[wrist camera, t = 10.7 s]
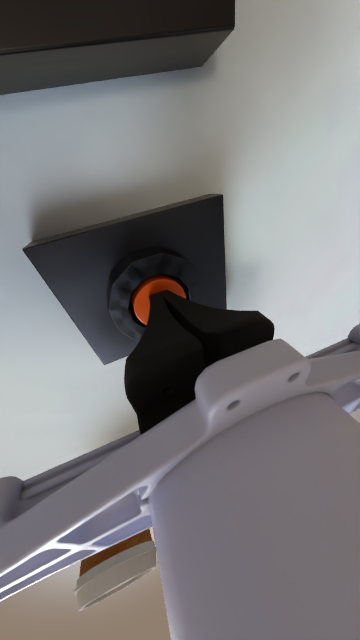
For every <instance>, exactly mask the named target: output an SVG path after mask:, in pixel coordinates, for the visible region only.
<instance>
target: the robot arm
mask: <svg viewBox="0 0 360 640" xmlns="http://www.w3.org/2000/svg"><path fill="white" fill-rule="evenodd" d="M149 301H150V311H149V317H148V321H147V325H146V328H145V330H144V333H143V335H142V337H141V339H140V341H139V342H138V344H137V346H136V347H135V349H134V350H133V351H132V353H131V354H130V355H129V356H128V357H127V359H126V365H125V375H124V383H125V391H126V395H127V399H128V400H129V402H130V404H131V405H132V407H133V409H134V410H135V412H136V414H137V418H138V424H139V430H138V431H136V432H134V433H132V434H129V435H127V436H125V437H123V438H120V439H118V440H116V441H113V442H111V443H109V444H107V445H104V446H102V447H100V448H98V449H95V450H93V451H91V452H89V453H86V454H84V455H82V456H79V457H77V458H75V459H73V460H70V461H68V462H66V463H64V464H61V465H59V466H57V467H55V468H52V469H50V470H48V471H45V472H43V473H41V474H39V475H36V476H34V477H32V478H30V479H27V480H25V481H22V480H21V479H19V478H17V477H13V476H9V477H3V478H0V601H2V600H4V599H5V598H7V597H9V596H11V595H13V594H15V593H17V592H19V591H21V590H22V589H24V588H26V587H28V586H30V585H32V584H34V583H36V582H38V581H40V580H42V579H44V578H46V577H48V576H50V575H52V574H54V573H56V572H58V571H60V570H62V569H64V568H66V567H68V566H70V565H73V564H74V563H77V562H79V561H81V560H83V559H85V558H87V557H89V556H91V555H94V554H96V553H98V552H100V551H102V550H104V549H106V548H108V547H110V546H113V545H115V544H117V543H119V542H121V541H123V540H125V539H127V538H129V537H132V536H134V535H136V534H138V533H140V532H142V531H144V530H146V529H148V528H150V527H153V531H154V532H153V533H154V539H155V545H156V551H157V557H158V563H159V569H160V575H161V581H162V587H163V593H164V600H165V606H166V612H167V618H168V624H169V630H170V636H171V640H360V423H359V422H358V421H356V420H355V419H354V418H353V417H352V416H351V415H350V414H351V413H353V412H355V411H356V410H358V409H359V408H360V324H359V325H357V326H355V327H354V328H353V329H352V330H351V331H350V333H349V335H348V338H347V339H345V340H342V341H340V342H338V343H336V344H333V345H331V346H329V347H327V348H324V349H322V350H320V351H318V352H315V353H313V354H311V355H308V356H306V357H304V356H303V355H302V354H300V353H299V352H298V351H297V350H295V349H294V348H293V347H292V346H291V345H289V344H288V343H287V342H285V341H284V340H282V339H276V340H273V336H274V325H273V323H272V322H271V321H270V320H269V319H268V318H266V317H265V316H264V315H263V314H261V313H260V312H258V311H236V310H225V309H219V308H213V307H209V306H205V305H201V304H198V303H195V302H193V301H190V300H188V299H185V298H183V297H181V296H179V295H177V294H175V293H173V292H171V291H169V290H164V291H161V292H158V293H155V294H151V295H149Z"/></svg>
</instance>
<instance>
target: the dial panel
mask: <svg viewBox="0 0 360 640" xmlns="http://www.w3.org/2000/svg"><path fill="white" fill-rule="evenodd" d="M234 27H235V0H0V95H3V94H10V93H17V92H24V91H31V90H38V89H45V88H53V87H60V86H67V85H74V84H81V83H88V82H95V81H102V80H109V79H116V78H123V77H130V76H137V75H145V74H152V73H159V72H166V71H173V70H180V69H187V68H194V67H201V66H203V65H204V63H205V62H206V61H207V60H208V59H209V58H210V56H211V55H212V54H213V53H214V52H215V51H216V49H217V48H218V47H219V46H220V45H221V44H222V42H223V41H224V40H225V39H226V38H227V37H228V35H229V34H230V33H231V32H232V31H233V30H234Z"/></svg>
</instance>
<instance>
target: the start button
mask: <svg viewBox="0 0 360 640" xmlns="http://www.w3.org/2000/svg"><path fill="white" fill-rule="evenodd" d="M164 290H169V291H171V292H173V293H175V294H177V295H179V296H181V297H183V298H185V299H186V295H185V292H184V290H183V288H182V287H181V286H180V285H179V283H178V282H177V281H176V280H175V279H174V278H173V277H172V276H170V275H165V274H158V275H155V276H152V277H149V278H146V279H144V280H143V281H142V282H141V283H140V284H139V285H138V286H137V287H136V288H135V289H134V290H133V291H132V293H131V302H132V305H133V308H134V312H135V314H136V316H137V318H138V319H139V320H140V321H141V322H142V323H144V324H146V325H147V321H148V317H149V311H150V301H149V295H151V294H155V293H158V292H161V291H164Z"/></svg>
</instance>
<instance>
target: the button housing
mask: <svg viewBox="0 0 360 640" xmlns="http://www.w3.org/2000/svg"><path fill="white" fill-rule="evenodd" d="M23 251H24V253H25V254H26V255H27V257H28V258H29V260H30V261H31V262H32V264H33V265H34V267H35V268H36V270H37V271H38V272H39V274H40V275H41V277H42V278H43V279H44V281H45V282H46V284H47V285H48V286H49V288H50V289H51V291H52V292H53V293H54V295H55V296H56V298H57V299H58V301H59V302H60V303H61V305H62V306H63V308H64V309H65V310H66V312H67V313H68V315H69V316H70V317H71V319H72V320H73V322H74V323H75V325H76V326H77V327H78V329H79V330H80V332H81V333H82V334H83V336H84V337H85V339H86V340H87V341H88V343H89V344H90V346H91V347H92V348H93V350H94V351H95V353H96V354H97V356H98V357H99V358H100V360H101V361H102V363H103V364H104V365H106V364H108V363H111V362H113V361H116V360H118V359H121V358H123V357H126V356H128V355H130V354H131V353H132V351H133V350H134V349H135V347H136V346H137V344H138V342H139V341H140V339H141V337H142V335H143V333H144V330H145V328H146V324H144V323H142V322H141V321H140V320H139V319H138V318H137V316H136V314H135V312H134V308H133V305H132V302H131V293H132V291H133V290H134V289H135V288H136V287H137V286H138V285H139V284H140V283H141V282H142V281H143V280H144V279H146V278H149V277H152V276H155V275H158V274H165V275H170V276H172V277H173V278H174V279H175V280H176V281H177V282H178V283H179V285H180V286H181V287H182V288H183V290H184V292H185V295H186V299H188V300H190V301H193V302H195V303H198V304H201V305H205V306H209V307H213V308H219V309H225V310H227V309H226V277H225V245H224V213H223V195H222V194H208V195H204V196H200V197H197V198H193V199H189V200H186V201H182V202H178V203H174V204H171V205H167V206H163V207H159V208H156V209H152V210H148V211H145V212H141V213H137V214H133V215H130V216H126V217H122V218H118V219H115V220H111V221H107V222H104V223H100V224H96V225H92V226H89V227H85V228H81V229H77V230H74V231H70V232H66V233H63V234H59V235H55V236H51V237H48V238H44V239H40V240H36V241H33V242H31V243H29V244H28V245H27V246H26V247H24V248H23Z"/></svg>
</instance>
